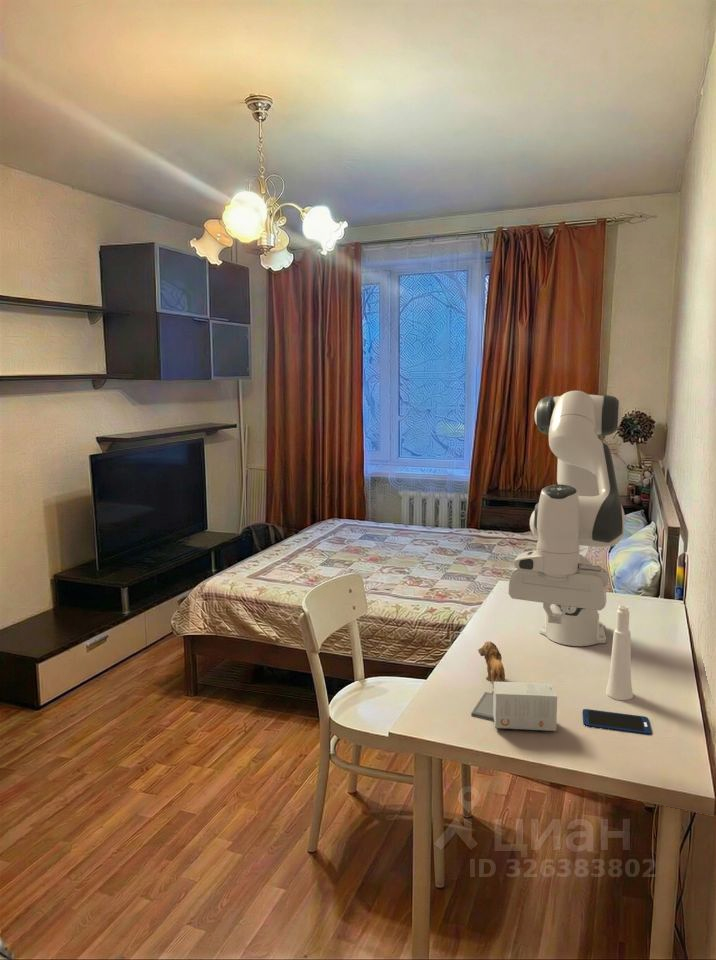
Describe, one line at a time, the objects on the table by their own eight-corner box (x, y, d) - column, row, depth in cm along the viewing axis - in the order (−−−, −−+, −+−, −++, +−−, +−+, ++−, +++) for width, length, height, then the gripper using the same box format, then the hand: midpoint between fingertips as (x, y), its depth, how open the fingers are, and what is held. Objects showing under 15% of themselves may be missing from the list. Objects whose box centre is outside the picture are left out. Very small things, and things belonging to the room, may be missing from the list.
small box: (552, 682, 145) (493, 680, 146) (558, 696, 138) (495, 693, 140) (551, 716, 146) (492, 714, 147) (556, 732, 140) (494, 728, 141)
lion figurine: (476, 672, 170) (476, 639, 168) (496, 670, 170) (496, 638, 169) (495, 699, 155) (495, 663, 154) (516, 697, 156) (517, 662, 155)
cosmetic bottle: (623, 687, 160) (627, 601, 157) (638, 699, 154) (642, 610, 151) (600, 689, 159) (604, 603, 156) (614, 701, 153) (618, 612, 150)
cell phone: (652, 737, 139) (652, 733, 139) (583, 727, 143) (583, 724, 143) (648, 719, 146) (648, 716, 146) (582, 711, 150) (582, 708, 150)
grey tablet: (485, 694, 158) (485, 691, 158) (550, 708, 151) (550, 705, 151) (471, 715, 148) (471, 712, 148) (540, 731, 141) (540, 728, 141)
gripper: (610, 562, 138) (608, 625, 140) (514, 552, 147) (513, 611, 149) (607, 571, 132) (604, 635, 134) (506, 560, 141) (506, 620, 144)
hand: (555, 622), depth 142 cm, fingers closed
